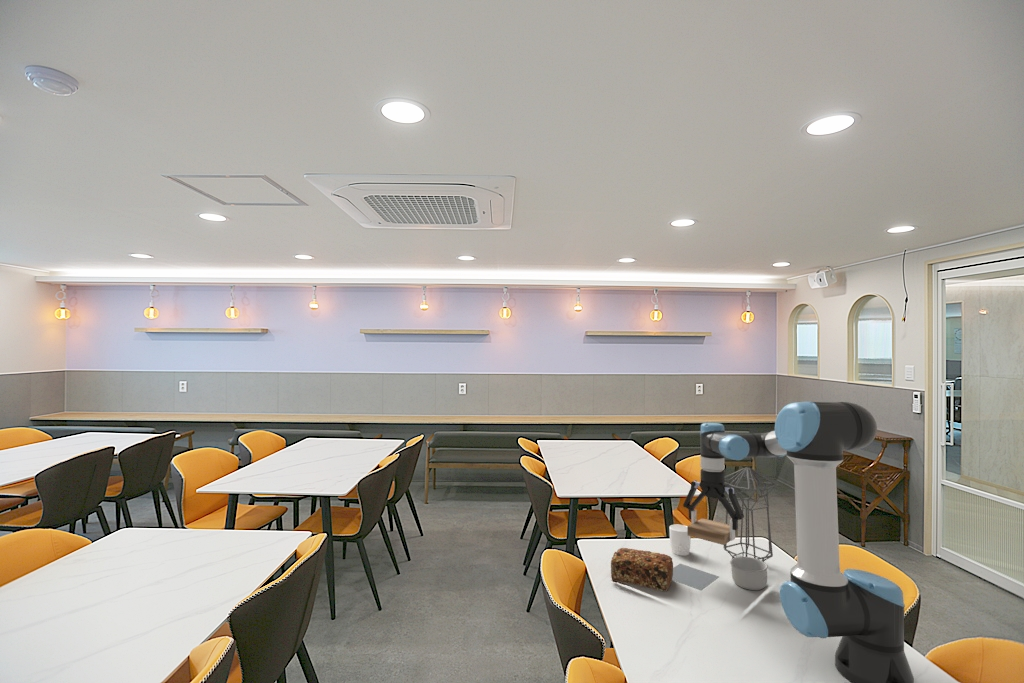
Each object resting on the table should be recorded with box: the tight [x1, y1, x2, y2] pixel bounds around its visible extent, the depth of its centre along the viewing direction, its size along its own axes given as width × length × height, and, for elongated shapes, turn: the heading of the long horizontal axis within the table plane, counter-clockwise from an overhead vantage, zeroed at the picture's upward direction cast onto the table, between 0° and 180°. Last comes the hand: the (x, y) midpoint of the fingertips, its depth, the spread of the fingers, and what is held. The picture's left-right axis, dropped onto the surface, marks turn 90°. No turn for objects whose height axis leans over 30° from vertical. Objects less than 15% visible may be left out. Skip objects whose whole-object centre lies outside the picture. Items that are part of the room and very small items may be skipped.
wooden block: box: [688, 517, 739, 546], centre depth 164 cm, size 12×12×3 cm
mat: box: [672, 563, 720, 591], centre depth 165 cm, size 14×14×1 cm
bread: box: [610, 547, 674, 592], centre depth 163 cm, size 19×11×10 cm, turn 60°
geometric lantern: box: [723, 466, 780, 563], centre depth 178 cm, size 16×16×35 cm
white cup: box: [668, 523, 692, 557], centre depth 186 cm, size 8×8×10 cm
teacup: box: [730, 554, 768, 591], centre depth 162 cm, size 14×11×8 cm
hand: (712, 534), depth 164 cm, fingers closed on wooden block, 12 cm apart
